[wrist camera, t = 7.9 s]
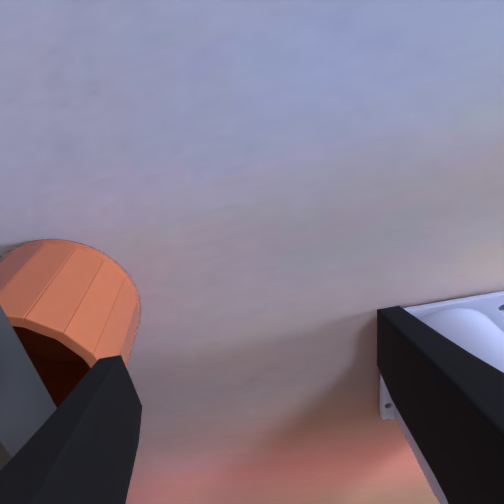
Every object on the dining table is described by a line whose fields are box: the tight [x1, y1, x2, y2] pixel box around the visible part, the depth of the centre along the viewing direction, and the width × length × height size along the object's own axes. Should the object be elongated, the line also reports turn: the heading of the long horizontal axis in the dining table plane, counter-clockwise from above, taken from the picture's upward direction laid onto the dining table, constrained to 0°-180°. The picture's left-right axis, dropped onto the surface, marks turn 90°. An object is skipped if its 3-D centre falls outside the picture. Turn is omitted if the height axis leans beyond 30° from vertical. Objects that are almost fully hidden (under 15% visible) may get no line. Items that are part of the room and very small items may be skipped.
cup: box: [0, 239, 141, 408], centre depth 18 cm, size 8×8×6 cm
